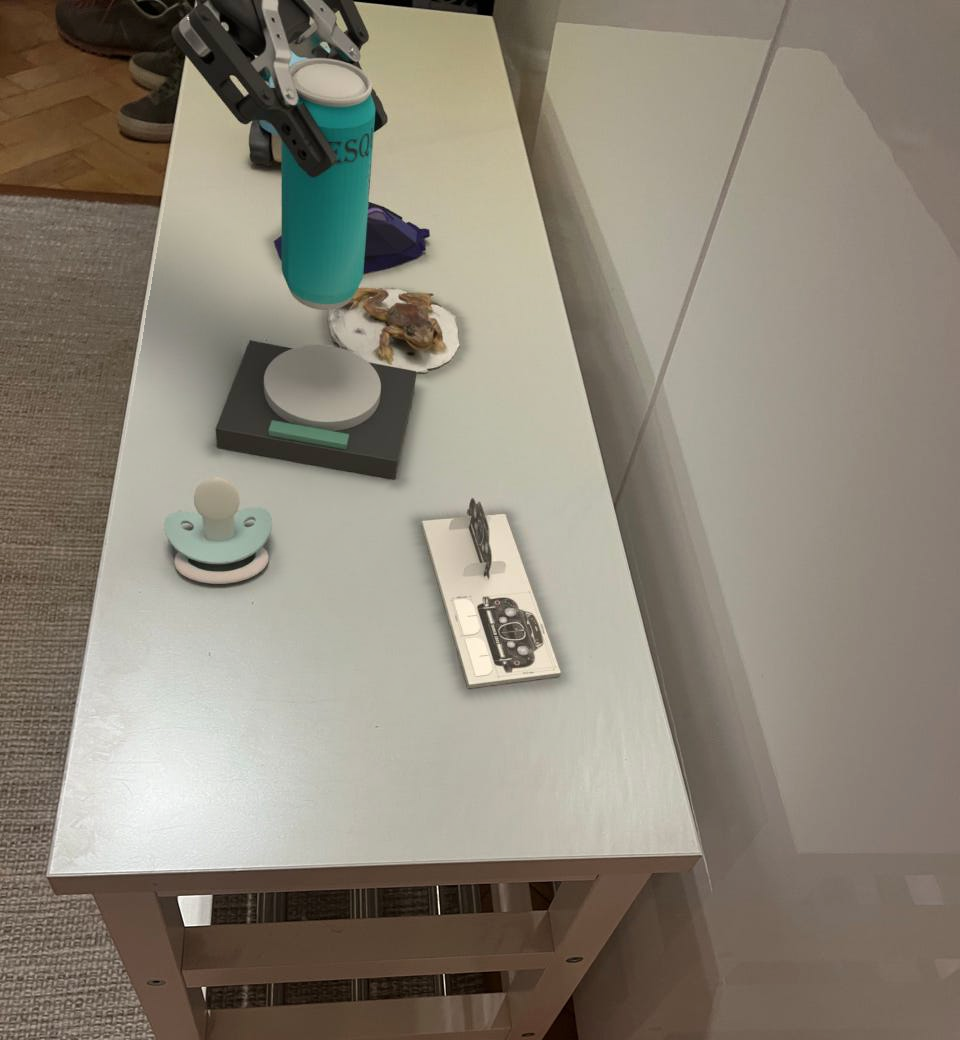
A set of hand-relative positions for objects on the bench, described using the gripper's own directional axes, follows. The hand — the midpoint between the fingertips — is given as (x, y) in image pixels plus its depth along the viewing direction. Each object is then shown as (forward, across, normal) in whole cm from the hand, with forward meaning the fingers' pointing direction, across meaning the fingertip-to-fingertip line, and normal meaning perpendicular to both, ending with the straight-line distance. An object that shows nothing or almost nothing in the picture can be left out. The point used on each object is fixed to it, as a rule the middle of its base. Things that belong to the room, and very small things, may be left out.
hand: (351, 148), depth 63 cm
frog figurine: (+15, +13, +17) cm, 26 cm away
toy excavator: (-1, +35, +34) cm, 49 cm away
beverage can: (+7, 0, +9) cm, 12 cm away
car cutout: (+29, -10, +3) cm, 31 cm away
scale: (+15, -1, +17) cm, 23 cm away
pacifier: (+17, -17, +16) cm, 28 cm away
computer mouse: (+8, +22, +24) cm, 33 cm away
